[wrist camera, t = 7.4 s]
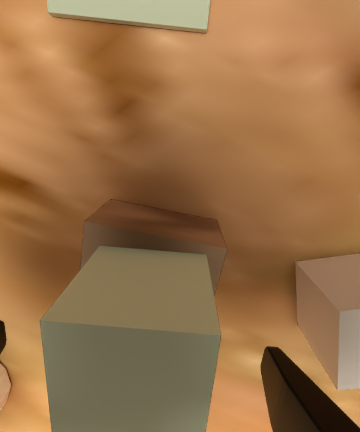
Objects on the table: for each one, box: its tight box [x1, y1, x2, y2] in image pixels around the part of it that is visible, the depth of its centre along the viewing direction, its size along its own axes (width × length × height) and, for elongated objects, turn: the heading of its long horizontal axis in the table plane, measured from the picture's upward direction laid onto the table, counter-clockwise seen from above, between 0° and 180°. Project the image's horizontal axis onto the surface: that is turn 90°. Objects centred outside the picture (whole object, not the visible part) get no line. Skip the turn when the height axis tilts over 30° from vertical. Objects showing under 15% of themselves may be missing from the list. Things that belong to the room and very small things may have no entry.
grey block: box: [295, 253, 360, 390], centre depth 13 cm, size 4×4×4 cm
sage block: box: [40, 246, 221, 432], centre depth 9 cm, size 4×4×4 cm
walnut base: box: [80, 199, 227, 295], centre depth 13 cm, size 6×6×4 cm
